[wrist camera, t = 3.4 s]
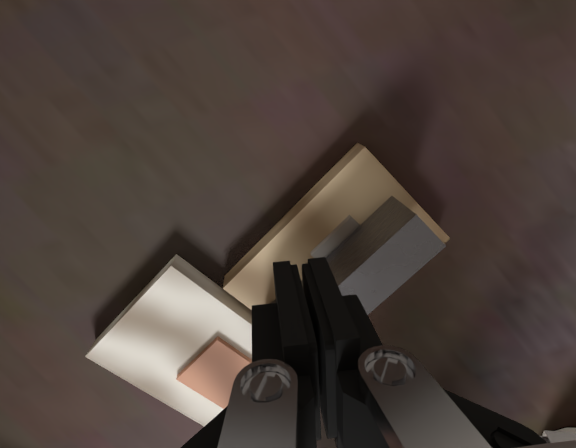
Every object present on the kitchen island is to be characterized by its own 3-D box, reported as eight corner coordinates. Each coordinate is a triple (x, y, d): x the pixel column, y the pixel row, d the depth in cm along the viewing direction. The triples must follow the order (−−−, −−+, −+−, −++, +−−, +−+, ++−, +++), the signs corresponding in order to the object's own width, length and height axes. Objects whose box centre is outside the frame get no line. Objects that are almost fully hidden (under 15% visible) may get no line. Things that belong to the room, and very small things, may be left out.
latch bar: (285, 338, 29) (291, 383, 25) (255, 316, 28) (256, 359, 24) (414, 220, 26) (447, 247, 22) (387, 191, 26) (415, 213, 21)
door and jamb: (256, 437, 36) (256, 462, 33) (95, 339, 30) (82, 361, 28) (465, 258, 31) (482, 272, 28) (319, 102, 25) (326, 103, 23)
